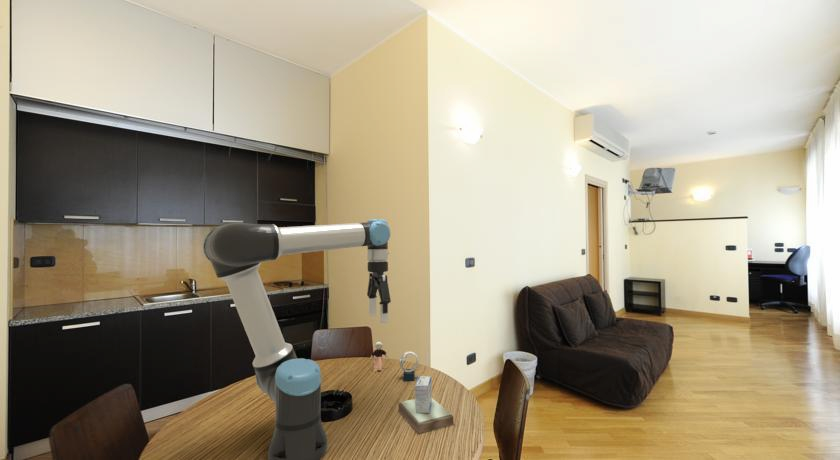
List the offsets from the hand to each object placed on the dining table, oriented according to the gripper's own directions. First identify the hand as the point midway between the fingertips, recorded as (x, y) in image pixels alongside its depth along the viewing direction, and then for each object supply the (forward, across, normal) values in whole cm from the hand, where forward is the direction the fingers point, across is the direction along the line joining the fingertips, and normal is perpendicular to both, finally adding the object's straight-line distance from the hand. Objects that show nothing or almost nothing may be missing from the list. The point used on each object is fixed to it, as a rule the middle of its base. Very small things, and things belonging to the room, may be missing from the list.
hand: (378, 318), depth 128 cm
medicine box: (+26, -20, -9) cm, 34 cm away
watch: (+29, +12, -17) cm, 36 cm away
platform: (+29, -20, -9) cm, 36 cm away
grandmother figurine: (+29, +27, -9) cm, 41 cm away
